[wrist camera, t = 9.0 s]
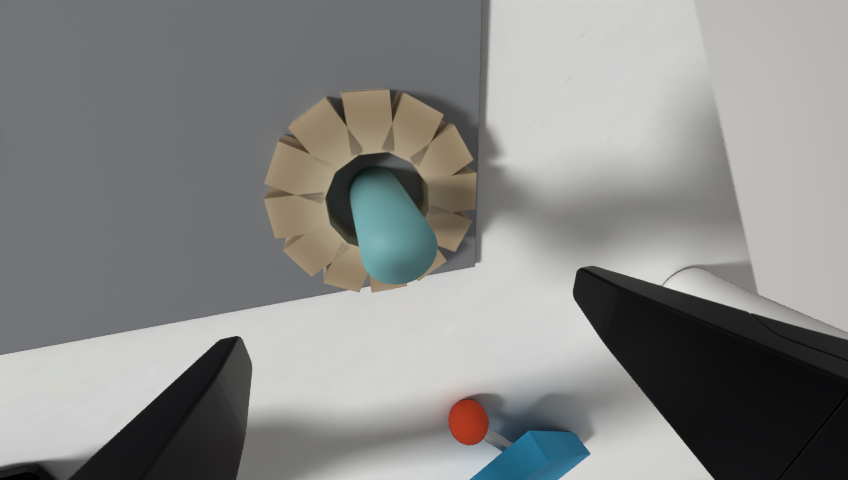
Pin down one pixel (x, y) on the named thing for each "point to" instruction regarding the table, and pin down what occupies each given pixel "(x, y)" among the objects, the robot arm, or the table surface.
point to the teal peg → (390, 228)
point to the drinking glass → (743, 300)
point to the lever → (517, 447)
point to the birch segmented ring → (339, 144)
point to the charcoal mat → (191, 147)
